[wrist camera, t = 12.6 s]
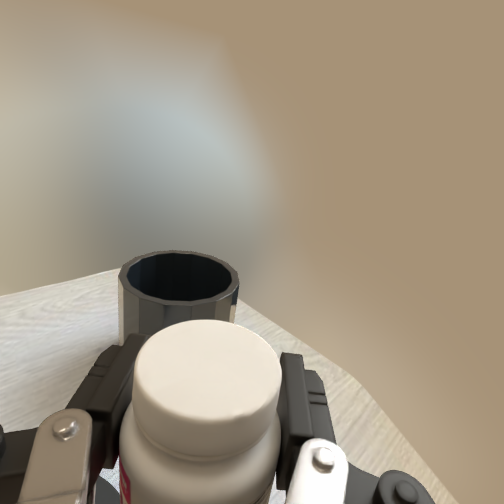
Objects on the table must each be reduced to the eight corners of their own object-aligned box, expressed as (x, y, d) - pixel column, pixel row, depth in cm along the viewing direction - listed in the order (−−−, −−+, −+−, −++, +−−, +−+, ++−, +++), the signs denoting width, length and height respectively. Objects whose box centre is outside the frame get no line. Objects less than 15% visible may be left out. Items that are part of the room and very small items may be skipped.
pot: (224, 322, 49) (233, 254, 45) (232, 391, 38) (245, 307, 34) (130, 319, 47) (130, 247, 43) (108, 391, 36) (106, 302, 32)
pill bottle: (92, 548, 12) (79, 353, 9) (193, 458, 16) (210, 295, 13) (182, 683, 10) (210, 479, 7) (280, 540, 13) (328, 362, 10)
